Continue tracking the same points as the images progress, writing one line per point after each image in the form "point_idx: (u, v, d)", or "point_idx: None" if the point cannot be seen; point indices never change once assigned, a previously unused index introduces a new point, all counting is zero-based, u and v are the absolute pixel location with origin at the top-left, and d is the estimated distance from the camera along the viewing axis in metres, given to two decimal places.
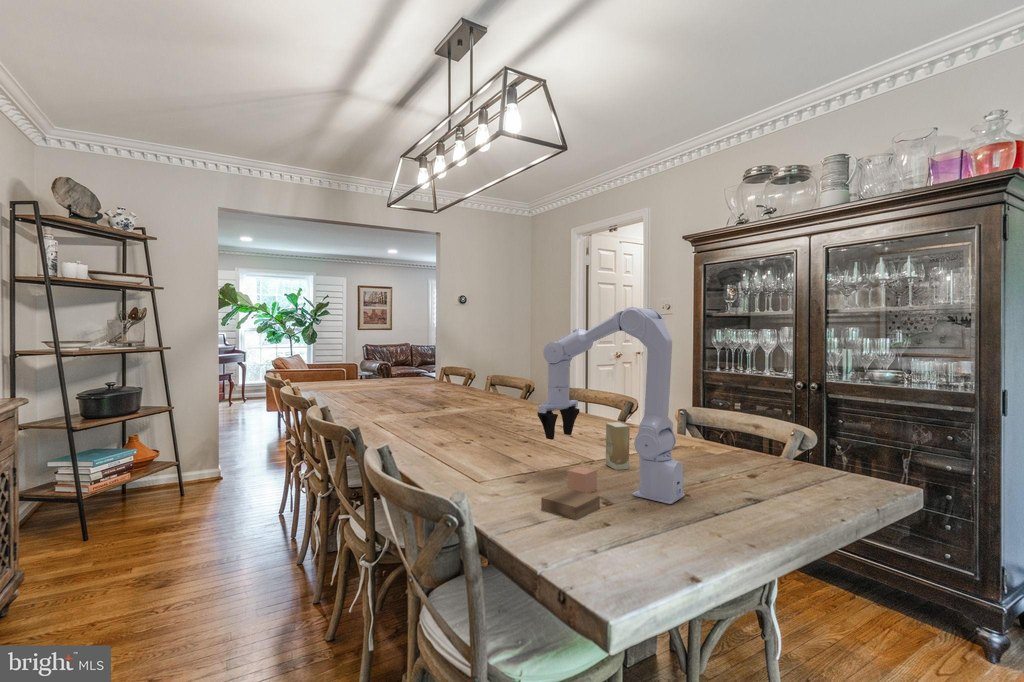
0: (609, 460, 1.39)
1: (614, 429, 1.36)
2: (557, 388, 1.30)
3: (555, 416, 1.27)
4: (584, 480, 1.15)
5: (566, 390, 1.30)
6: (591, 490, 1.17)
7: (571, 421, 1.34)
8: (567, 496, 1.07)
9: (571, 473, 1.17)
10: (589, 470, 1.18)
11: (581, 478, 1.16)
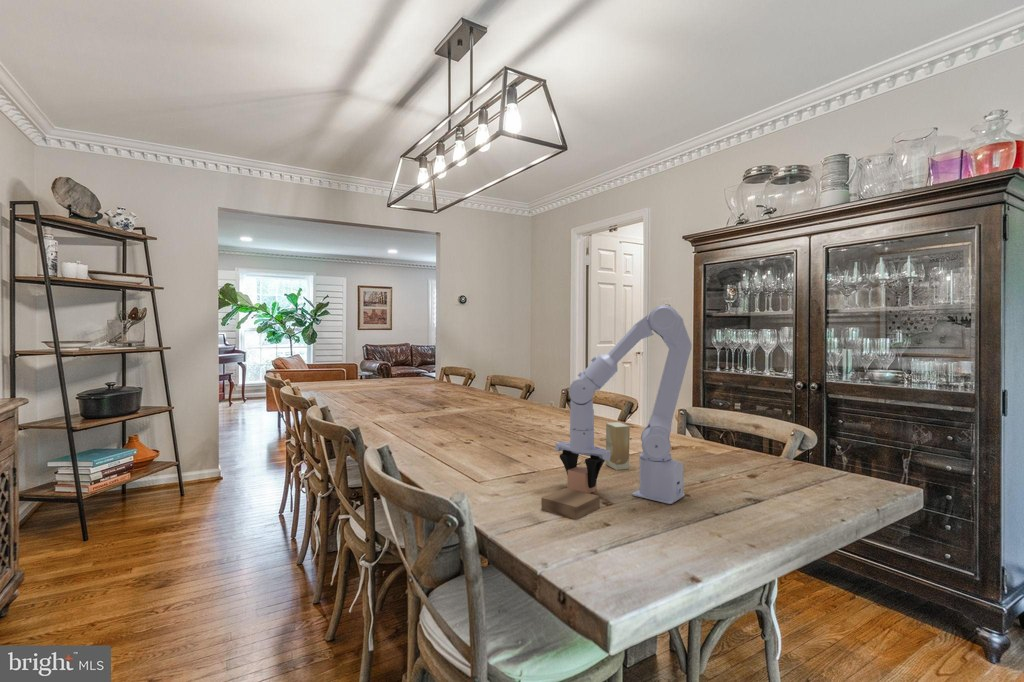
0: (609, 460, 1.39)
1: (614, 429, 1.36)
2: (570, 429, 1.19)
3: (563, 458, 1.19)
4: (584, 480, 1.15)
5: (574, 433, 1.16)
6: (591, 490, 1.17)
7: None
8: (567, 496, 1.07)
9: (571, 472, 1.17)
10: None
11: (581, 478, 1.16)
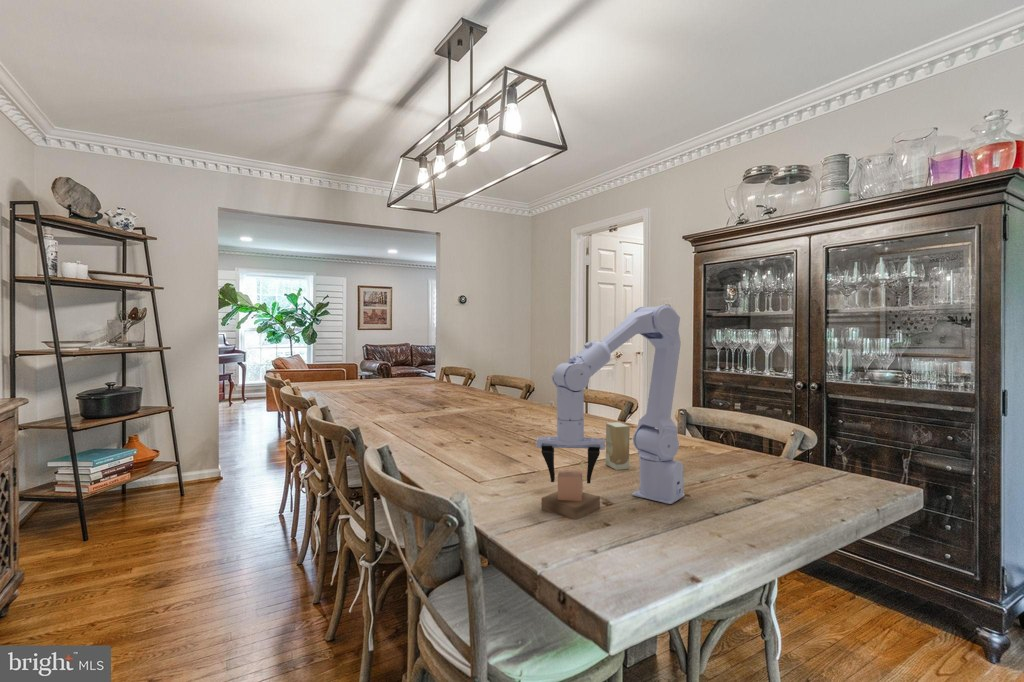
0: (609, 460, 1.39)
1: (614, 429, 1.36)
2: (559, 420, 1.05)
3: (548, 454, 1.04)
4: (580, 484, 1.04)
5: (569, 425, 1.03)
6: None
7: (588, 466, 1.04)
8: None
9: (563, 478, 1.04)
10: (577, 472, 1.07)
11: (576, 482, 1.04)
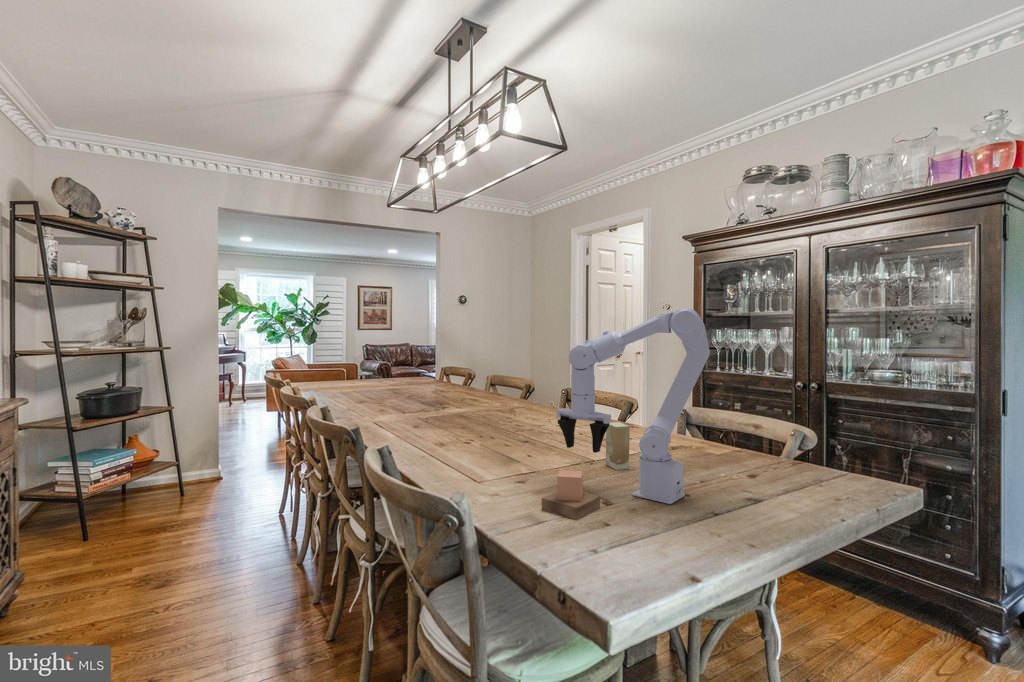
0: (609, 460, 1.39)
1: (614, 429, 1.36)
2: (571, 395, 1.21)
3: (561, 422, 1.22)
4: (579, 485, 1.03)
5: (575, 398, 1.18)
6: None
7: None
8: None
9: (563, 478, 1.04)
10: (577, 472, 1.07)
11: (576, 483, 1.04)
